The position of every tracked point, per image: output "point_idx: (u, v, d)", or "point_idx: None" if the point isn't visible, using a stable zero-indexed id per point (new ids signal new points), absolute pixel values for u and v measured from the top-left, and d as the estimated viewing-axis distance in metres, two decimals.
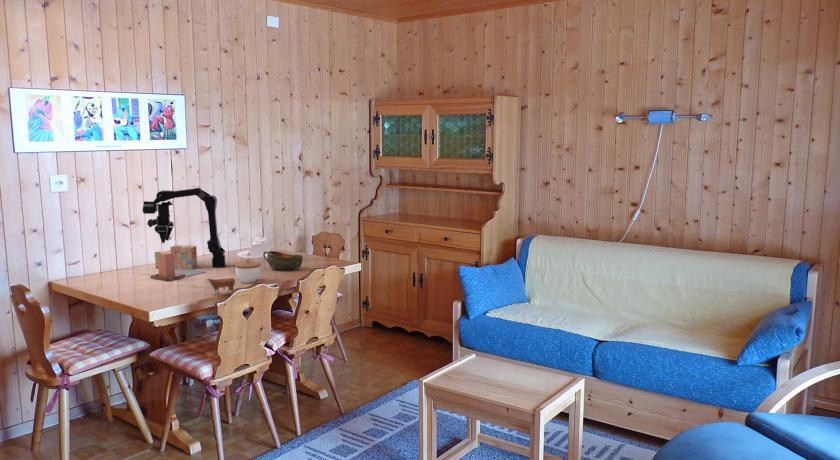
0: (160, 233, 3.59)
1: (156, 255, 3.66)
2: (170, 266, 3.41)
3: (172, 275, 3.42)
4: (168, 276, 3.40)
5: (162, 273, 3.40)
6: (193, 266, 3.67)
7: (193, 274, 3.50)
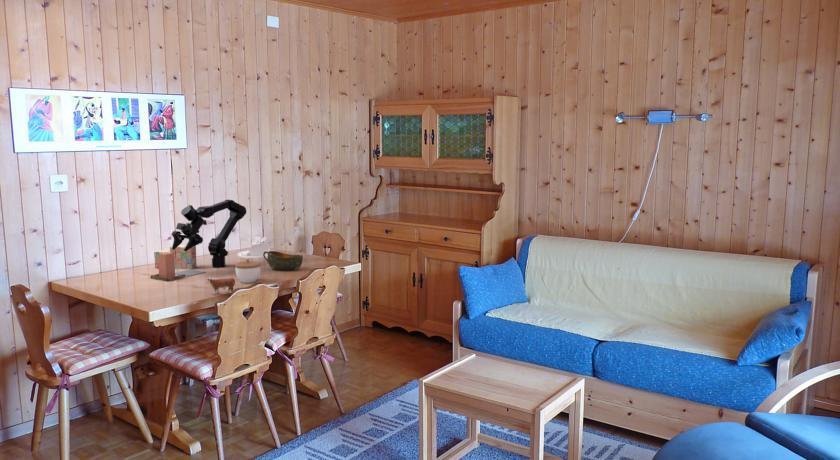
0: (191, 241, 3.47)
1: (155, 255, 3.66)
2: (170, 266, 3.41)
3: (172, 275, 3.42)
4: (168, 276, 3.40)
5: (162, 273, 3.40)
6: (193, 266, 3.67)
7: (193, 274, 3.50)
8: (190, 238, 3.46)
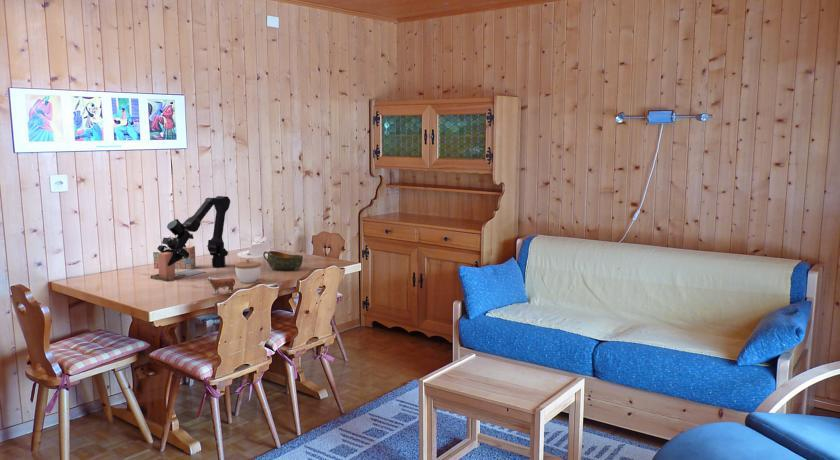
0: (175, 256, 3.41)
1: (154, 256, 3.66)
2: (170, 266, 3.40)
3: (172, 275, 3.42)
4: (168, 276, 3.40)
5: (162, 273, 3.40)
6: (192, 266, 3.67)
7: (193, 274, 3.50)
8: (174, 253, 3.40)
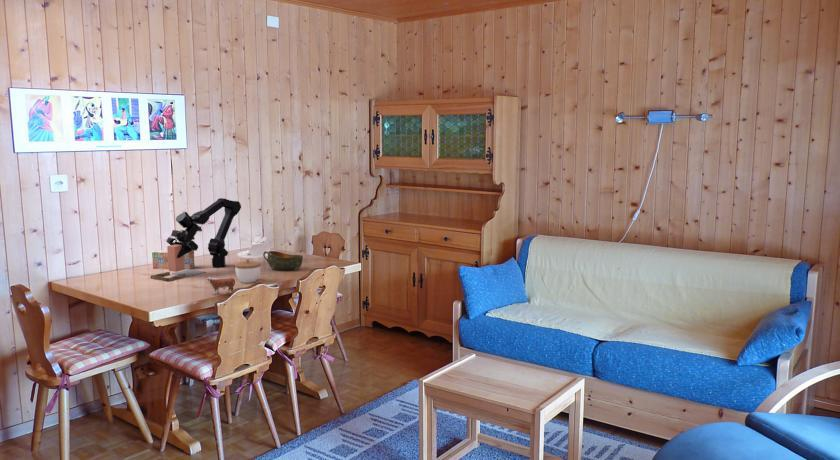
0: (184, 248, 3.45)
1: (153, 256, 3.66)
2: (179, 258, 3.45)
3: (181, 267, 3.47)
4: (177, 268, 3.45)
5: (171, 265, 3.45)
6: (191, 266, 3.66)
7: (193, 274, 3.50)
8: (183, 245, 3.44)
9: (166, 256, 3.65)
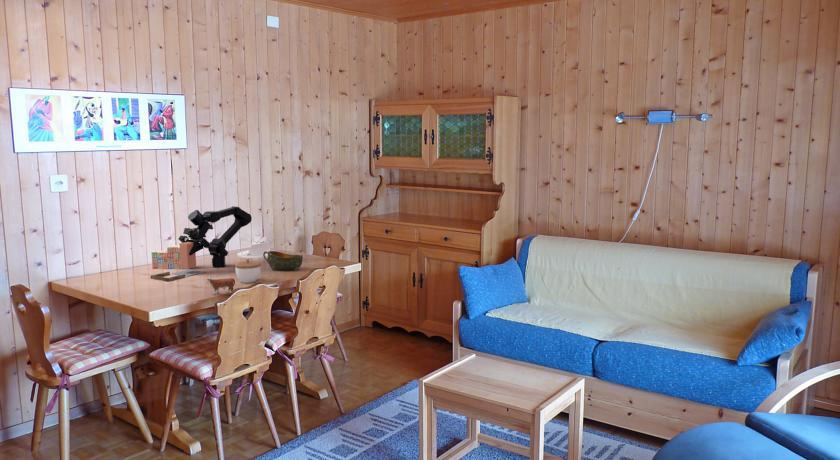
0: (196, 245, 3.52)
1: (152, 256, 3.65)
2: (191, 255, 3.52)
3: (193, 264, 3.53)
4: (189, 265, 3.51)
5: (183, 262, 3.51)
6: None
7: (193, 274, 3.50)
8: (195, 242, 3.51)
9: (165, 256, 3.65)
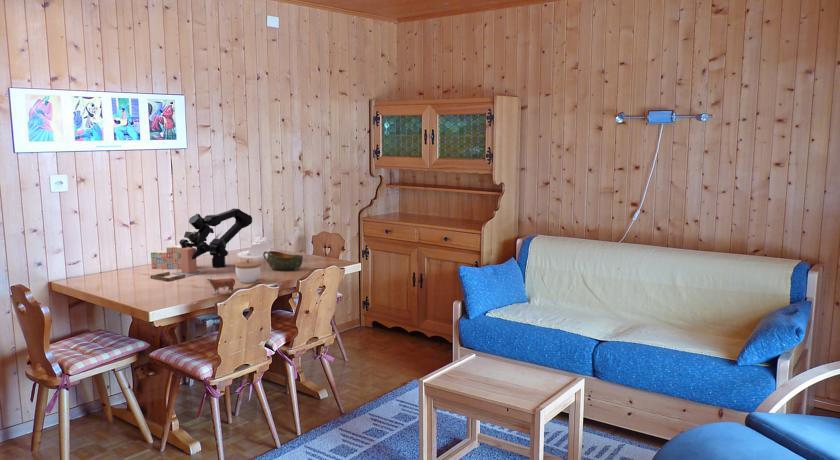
0: (199, 249, 3.51)
1: (152, 256, 3.65)
2: (192, 261, 3.52)
3: (194, 269, 3.54)
4: (190, 270, 3.52)
5: (184, 268, 3.52)
6: None
7: (193, 274, 3.50)
8: (198, 246, 3.51)
9: (165, 256, 3.65)
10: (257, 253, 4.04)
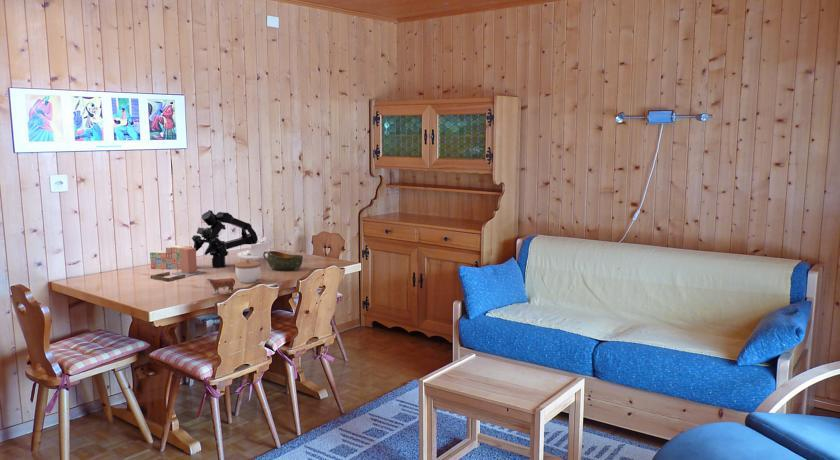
0: (211, 245, 3.59)
1: (151, 256, 3.65)
2: (192, 261, 3.52)
3: (194, 269, 3.54)
4: (190, 270, 3.52)
5: (184, 268, 3.52)
6: None
7: (193, 274, 3.50)
8: (210, 242, 3.58)
9: (164, 256, 3.64)
10: (257, 253, 4.04)
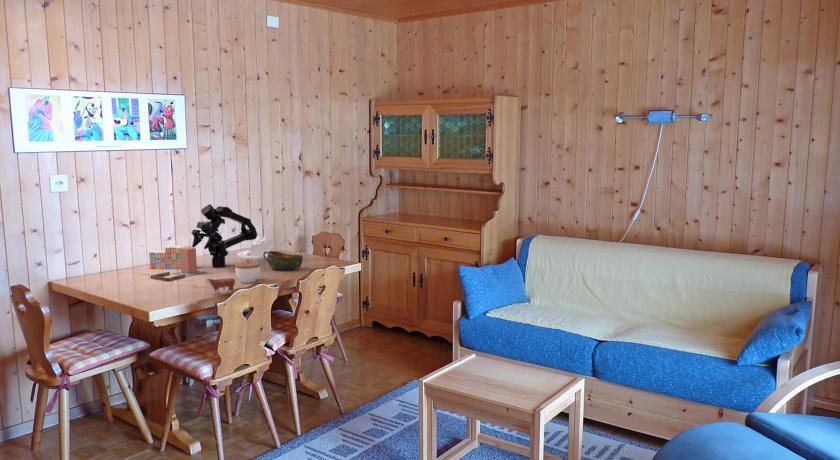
0: (211, 239, 3.58)
1: (150, 256, 3.65)
2: (192, 261, 3.52)
3: (194, 269, 3.54)
4: (190, 270, 3.52)
5: (184, 268, 3.52)
6: None
7: (193, 274, 3.50)
8: (210, 236, 3.57)
9: (163, 256, 3.64)
10: (257, 253, 4.04)
